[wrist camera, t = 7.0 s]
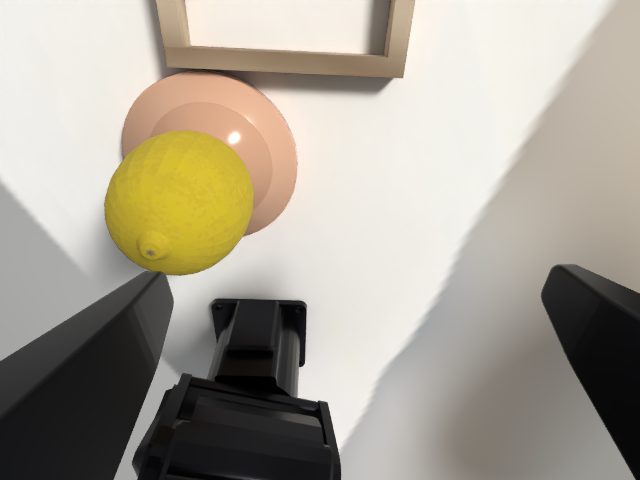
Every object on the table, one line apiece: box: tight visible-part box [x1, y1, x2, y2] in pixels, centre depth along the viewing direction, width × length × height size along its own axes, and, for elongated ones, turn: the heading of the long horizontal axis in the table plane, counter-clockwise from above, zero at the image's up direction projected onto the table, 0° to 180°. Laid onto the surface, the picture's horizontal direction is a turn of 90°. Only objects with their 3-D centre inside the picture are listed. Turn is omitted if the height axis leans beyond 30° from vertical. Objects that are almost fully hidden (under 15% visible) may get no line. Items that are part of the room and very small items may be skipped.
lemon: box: [104, 130, 254, 276], centre depth 15 cm, size 6×6×8 cm
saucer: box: [122, 70, 298, 236], centre depth 19 cm, size 9×9×1 cm
